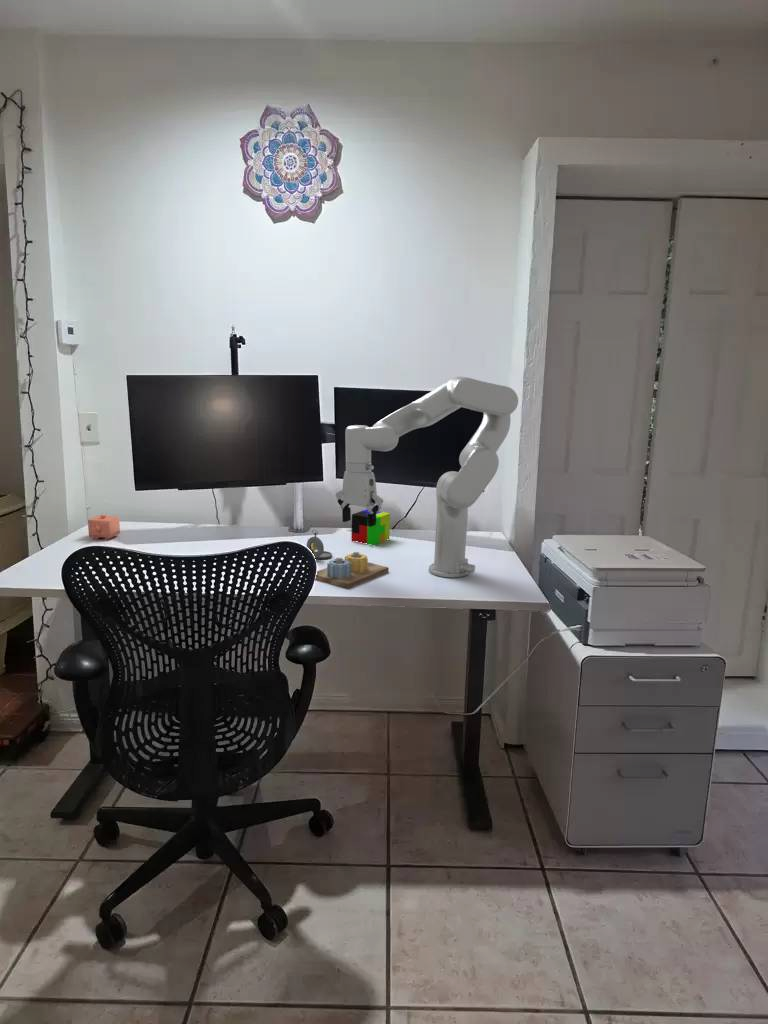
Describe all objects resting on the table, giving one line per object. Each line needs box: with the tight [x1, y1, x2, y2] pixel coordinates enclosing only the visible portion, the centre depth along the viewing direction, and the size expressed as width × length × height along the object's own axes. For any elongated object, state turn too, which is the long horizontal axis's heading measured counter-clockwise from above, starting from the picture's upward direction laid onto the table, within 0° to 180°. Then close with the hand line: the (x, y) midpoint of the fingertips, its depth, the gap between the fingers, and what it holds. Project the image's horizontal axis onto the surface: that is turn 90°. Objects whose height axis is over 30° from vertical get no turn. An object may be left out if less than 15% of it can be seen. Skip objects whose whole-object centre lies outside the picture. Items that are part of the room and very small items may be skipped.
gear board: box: [315, 551, 390, 590], centre depth 199 cm, size 14×20×6 cm
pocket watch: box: [306, 529, 333, 560], centre depth 215 cm, size 8×8×10 cm
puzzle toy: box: [350, 509, 391, 546], centre depth 237 cm, size 10×10×10 cm
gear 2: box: [344, 552, 369, 572], centre depth 201 cm, size 7×7×4 cm
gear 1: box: [326, 558, 351, 579], centre depth 194 cm, size 7×7×4 cm
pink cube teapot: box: [87, 514, 121, 540], centre depth 229 cm, size 8×12×8 cm, turn 174°
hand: (359, 523), depth 198 cm, fingers open, 9 cm apart
